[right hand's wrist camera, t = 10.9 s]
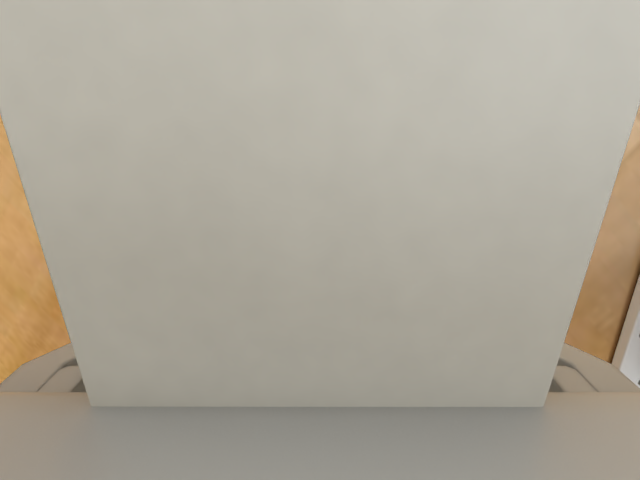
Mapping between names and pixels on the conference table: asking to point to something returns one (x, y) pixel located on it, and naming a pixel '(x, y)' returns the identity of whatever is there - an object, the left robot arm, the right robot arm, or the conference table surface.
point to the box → (318, 190)
